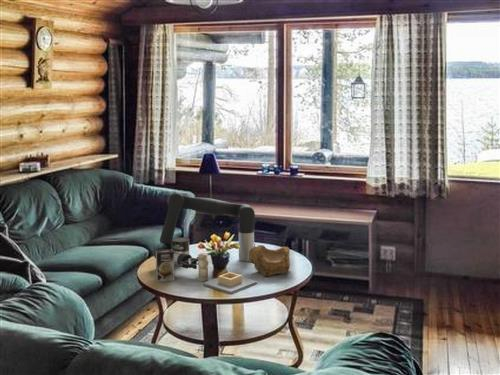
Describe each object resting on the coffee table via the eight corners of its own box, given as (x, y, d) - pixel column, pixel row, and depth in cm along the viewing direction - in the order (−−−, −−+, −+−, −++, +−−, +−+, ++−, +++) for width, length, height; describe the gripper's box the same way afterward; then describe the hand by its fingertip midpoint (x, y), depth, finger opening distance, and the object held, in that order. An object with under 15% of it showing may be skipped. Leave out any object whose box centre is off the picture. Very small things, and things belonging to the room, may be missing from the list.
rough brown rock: (249, 280, 304) (250, 254, 300) (248, 268, 320) (248, 243, 316) (292, 280, 305) (293, 254, 301) (288, 268, 321) (290, 243, 317)
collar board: (229, 275, 309) (229, 267, 308) (257, 283, 296) (257, 274, 295) (203, 285, 294) (203, 276, 293) (231, 293, 281) (231, 285, 280)
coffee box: (157, 282, 299) (156, 253, 296) (156, 278, 305) (155, 249, 302) (174, 280, 301) (173, 251, 298) (173, 276, 307) (172, 248, 304)
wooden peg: (203, 277, 306) (203, 252, 303) (210, 279, 302) (209, 254, 300) (196, 279, 302) (196, 254, 300) (203, 282, 299) (202, 256, 296)
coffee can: (185, 265, 326) (185, 242, 324) (169, 264, 329) (168, 241, 327) (192, 260, 336) (192, 237, 333) (176, 259, 339) (176, 236, 336)
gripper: (171, 255, 306) (192, 261, 295) (191, 250, 316) (211, 255, 306) (172, 269, 307) (192, 275, 297) (191, 262, 318) (211, 268, 307)
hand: (202, 265), depth 301 cm, fingers open, 8 cm apart
